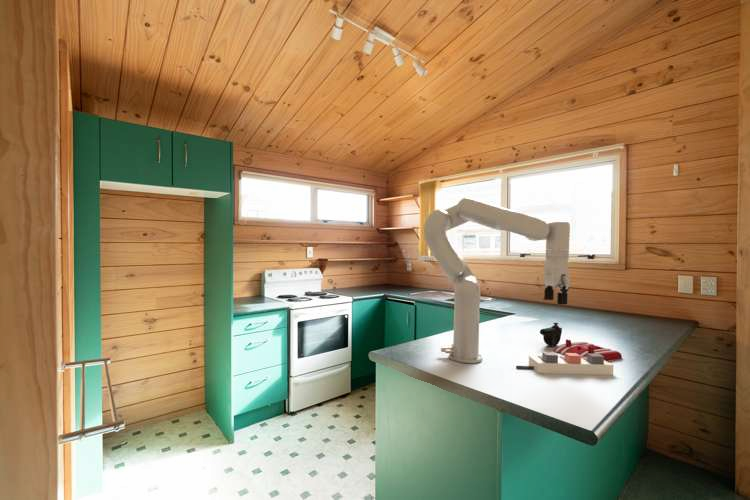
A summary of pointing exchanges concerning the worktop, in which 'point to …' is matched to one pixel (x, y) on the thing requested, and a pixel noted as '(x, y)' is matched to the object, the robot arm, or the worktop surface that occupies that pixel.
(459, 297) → the robot arm
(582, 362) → the button panel
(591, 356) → the button
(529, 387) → the worktop surface
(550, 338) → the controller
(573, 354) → the button
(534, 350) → the worktop surface
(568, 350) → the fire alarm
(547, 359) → the button
